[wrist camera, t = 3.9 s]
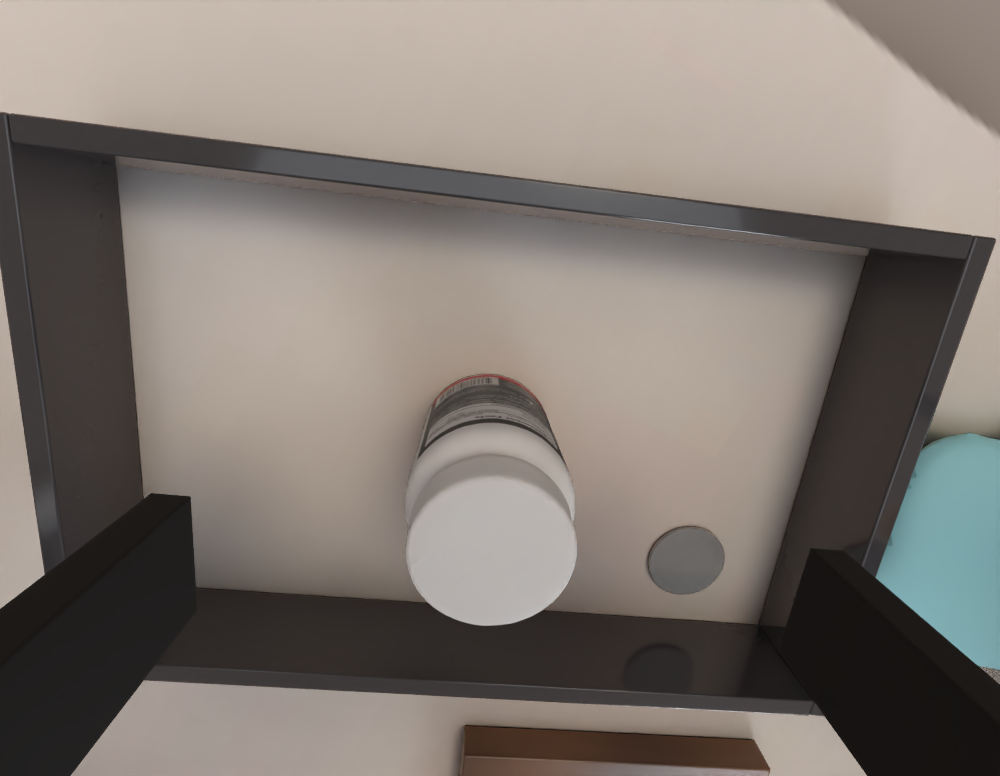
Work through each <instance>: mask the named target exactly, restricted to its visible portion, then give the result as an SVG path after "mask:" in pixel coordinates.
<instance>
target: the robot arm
mask: <svg viewBox="0 0 1000 776" xmlns="http://www.w3.org/2000/svg"><path fill="white" fill-rule="evenodd" d="M196 612H197V601H196V584H195V567H194V549H193V532H192V514H191V497H190V496H178V495H166V494H154V493H151V494H150V495H148V496H147V497H146V498H144V499H143V500H142V501H141V502H139V503H138V504H137V505H135V506H134V507H133V508H131V509H130V510H129V511H127V512H126V513H125V514H124V515H122V516H121V517H120V518H118V519H117V520H116V521H114V522H113V523H112V524H111V525H109V526H108V527H107V528H105V529H104V530H103V531H101V532H100V533H99V534H97V535H96V536H95V537H94V538H92V539H91V540H90V541H88V542H87V543H86V544H84V545H83V546H82V547H81V548H79V549H78V550H77V551H75V552H74V553H73V554H71V555H70V556H69V557H67V558H66V559H65V560H64V561H62V562H61V563H60V564H58V565H57V566H56V567H54V568H53V569H52V570H51V571H49V572H48V573H47V574H45V575H44V576H43V577H41V578H40V579H39V580H37V581H36V582H35V583H34V584H32V585H31V586H30V587H28V588H27V589H26V590H24V591H23V592H22V593H20V594H19V595H18V596H17V597H15V598H14V599H13V600H11V601H10V602H9V603H7V604H6V605H5V606H4V607H2V608H1V609H0V776H70V775H71V774H72V773H73V772H74V770H75V769H76V768H77V766H78V765H79V764H80V762H81V761H82V760H83V759H84V757H85V756H86V755H87V753H88V752H89V751H90V749H91V748H92V747H93V746H94V744H95V743H96V742H97V740H98V739H99V738H100V736H101V735H102V734H103V733H104V731H105V730H106V729H107V727H108V726H109V725H110V723H111V722H112V721H113V720H114V718H115V717H116V716H117V714H118V713H119V712H120V710H121V709H122V708H123V707H124V705H125V704H126V703H127V701H128V700H129V699H130V697H131V696H132V695H133V693H134V692H135V691H136V690H137V688H138V687H139V686H140V684H141V683H142V682H143V680H144V679H145V678H146V677H147V675H148V674H149V673H150V671H151V670H152V669H153V667H154V666H155V665H156V664H157V662H158V661H159V660H160V658H161V657H162V656H163V654H164V653H165V652H166V651H167V649H168V648H169V647H170V645H171V644H172V643H173V641H174V640H175V639H176V638H177V636H178V635H179V634H180V632H181V631H182V630H183V628H184V627H185V626H186V625H187V623H188V622H189V621H190V619H191V618H192V617H193V615H194V614H195V613H196ZM778 652H779V653H780V655H781V656H782V658H783V659H784V660H785V662H786V663H787V665H788V666H789V667H790V669H791V670H792V671H793V673H794V674H795V676H796V677H797V678H798V680H799V681H800V683H801V684H802V685H803V687H804V688H805V690H806V691H807V692H808V694H809V695H810V697H811V698H812V699H813V701H814V702H815V704H816V705H817V706H818V708H819V709H820V710H821V712H822V713H823V715H824V716H825V717H826V719H827V720H828V722H829V723H830V724H831V726H832V727H833V729H834V730H835V731H836V733H837V734H838V736H839V737H840V738H841V740H842V741H843V742H844V744H845V745H846V747H847V748H848V749H849V751H850V752H851V754H852V755H853V756H854V758H855V759H856V761H857V762H858V763H859V765H860V766H861V768H862V769H863V770H864V772H865V773H866V775H867V776H1000V684H998V683H997V682H996V681H995V680H994V679H993V678H991V677H990V676H989V675H988V674H987V673H986V672H984V671H983V670H982V669H981V668H980V667H979V666H977V665H976V664H975V663H974V662H973V661H972V660H970V659H969V658H968V657H967V656H966V655H965V654H964V653H962V652H961V651H960V650H959V649H958V648H957V647H955V646H954V645H953V644H952V643H951V642H950V641H948V640H947V639H946V638H945V637H944V636H943V635H941V634H940V633H939V632H938V631H937V630H936V629H934V628H933V627H932V626H931V625H930V624H929V623H927V622H926V621H925V620H924V619H923V618H922V617H920V616H919V615H918V614H917V613H916V612H915V611H914V610H912V609H911V608H910V607H909V606H908V605H907V604H905V603H904V602H903V601H902V600H901V599H900V598H898V597H897V596H896V595H895V594H894V593H893V592H891V591H890V590H889V589H888V588H887V587H886V586H884V585H883V584H882V583H881V582H880V581H879V580H877V579H876V578H875V577H874V576H873V575H872V574H871V573H869V572H868V571H867V570H866V569H865V568H864V567H862V566H861V565H860V564H859V563H858V562H857V561H855V560H854V559H853V558H852V557H851V556H850V555H848V554H847V553H846V552H845V551H841V550H829V549H817V548H810V552H809V555H808V558H807V561H806V564H805V567H804V570H803V574H802V577H801V580H800V583H799V586H798V589H797V593H796V596H795V599H794V602H793V605H792V608H791V611H790V615H789V618H788V621H787V624H786V627H785V630H784V634H783V637H782V640H781V643H780V646H779V649H778Z"/></svg>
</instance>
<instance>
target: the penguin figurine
mask: <svg viewBox="0 0 1000 776" xmlns="http://www.w3.org/2000/svg"><path fill="white" fill-rule="evenodd" d="M876 579H877V580H879V581H880V582H881V583H882V584H883V585H884V586H886V587H887V588H888V589H889V590H890V591H891V592H893V593H894V594H895V595H896V596H897V597H898V598H900V599H901V600H902V601H903V602H904V603H905V604H907V605H908V606H909V607H910V608H911V609H912V610H914V611H915V612H916V613H917V614H918V615H919V616H920V617H922V618H923V619H924V620H925V621H926V622H927V623H929V624H930V625H931V626H932V627H933V628H934V629H936V630H937V631H938V632H939V633H940V634H941V635H943V636H944V637H945V638H946V639H947V640H948V641H950V642H951V643H952V644H953V645H954V646H955V647H957V648H958V649H959V650H960V651H961V652H962V653H964V654H965V655H966V656H967V657H968V658H969V659H970V660H972V661H973V662H974V663H975V664H976V665H977V666H982V667H988V668H994V669H998V670H1000V440H998V439H992V438H987V437H984V436H981V435H978V434H973V433H966V434H961V435H953V436H949V437H946V438H942V439H939V440H937V441H934V442H932V443H931V444H929V445H927V446H926V447H925V448H923V449H922V450H921V452H920V455H919V458H918V461H917V463H916V466H915V469H914V472H913V475H912V477H911V480H910V483H909V486H908V489H907V491H906V494H905V497H904V500H903V503H902V505H901V508H900V511H899V514H898V517H897V519H896V522H895V525H894V528H893V531H892V533H891V536H890V539H889V542H888V545H887V547H886V550H885V553H884V556H883V559H882V561H881V564H880V567H879V570H878V573H877V575H876Z"/></svg>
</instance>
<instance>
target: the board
mask: <svg viewBox="0 0 1000 776" xmlns="http://www.w3.org/2000/svg"><path fill="white" fill-rule="evenodd" d="M769 773H770V768H769V766H768V764H767V762H766V760H765V759H764V757H763V755H762V753H761V751H760V750H759V748H758V746H757V744H756V742H755V741H754V740H743V739H722V738H702V737H681V736H661V735H641V734H620V733H600V732H580V731H559V730H539V729H519V728H498V727H478V726H465V728H464V736H463V744H462V753H461V761H460V769H459V776H769Z"/></svg>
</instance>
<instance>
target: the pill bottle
mask: <svg viewBox="0 0 1000 776" xmlns="http://www.w3.org/2000/svg"><path fill="white" fill-rule="evenodd" d="M574 515H575V493H574V487H573V483H572V480H571V476H570V474H569V471H568V468H567V466H566V464H565V461H564V459H563V456H562V454H561V452H560V449H559V447H558V444H557V440H556V438H555V436H554V434H553V432H552V429H551V427H550V424H549V421H548V419H547V416H546V413H545V411H544V409H543V407H542V405H541V404H540V402H539V401H538V399H537V398H536V397H535V396H534V395H533V394H532V393H531V392H530V391H529V390H528V389H527V388H526V387H524V386H523V385H522V384H520V383H518V382H517V381H515V380H513V379H510V378H507V377H504V376H500V375H495V374H479V375H473V376H469V377H466V378H463V379H461V380H458V381H456V382H455V383H453V384H451V385H450V386H448V387H447V388H446V389H445V390H444V391H443V392H442V393H441V394H440V395H439V396H438V397H437V398H436V400H435V401H434V403H433V404H432V406H431V408H430V410H429V412H428V415H427V418H426V421H425V425H424V427H423V432H422V436H421V439H420V442H419V446H418V449H417V453H416V456H415V459H414V462H413V466H412V469H411V472H410V475H409V479H408V483H407V487H406V493H405V516H406V522H407V525H408V534H407V540H406V550H405V552H406V562H407V568H408V571H409V574H410V577H411V580H412V582H413V583H414V585H415V587H416V589H417V590H418V592H419V593H420V594H421V596H422V597H423V598H424V599H425V600H426V601H427V602H428V603H429V604H430V605H431V606H432V607H434V608H435V609H437V610H438V611H440V612H441V613H443V614H445V615H446V616H449V617H451V618H453V619H456V620H458V621H462V622H465V623H469V624H474V625H481V626H492V625H504V624H511V623H515V622H518V621H521V620H523V619H526V618H529V617H531V616H533V615H535V614H537V613H539V612H540V611H542V610H543V609H544V608H546V607H547V606H549V605H550V604H551V603H552V602H553V601H554V600H555V599H556V598H557V597H558V596H559V595H560V594H561V592H562V591H563V590H564V588H565V587H566V585H567V584H568V582H569V580H570V578H571V576H572V573H573V570H574V567H575V563H576V557H577V539H576V534H575V529H574V526H573V520H574Z"/></svg>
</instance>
